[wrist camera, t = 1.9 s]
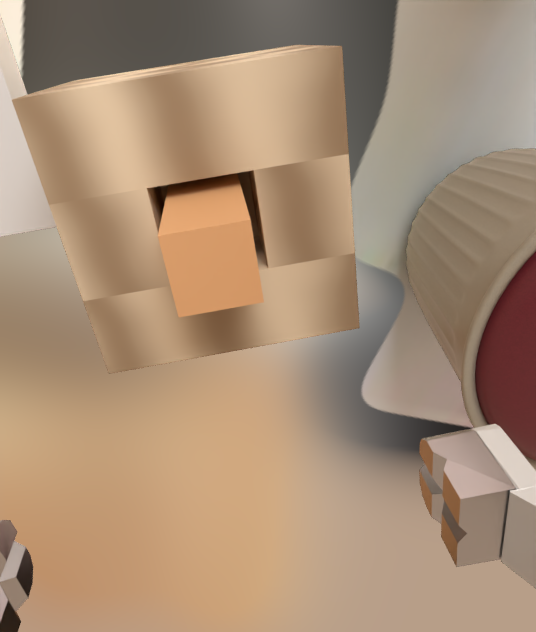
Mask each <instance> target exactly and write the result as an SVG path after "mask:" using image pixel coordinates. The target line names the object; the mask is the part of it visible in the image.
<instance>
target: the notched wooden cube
mask: <svg viewBox="0 0 536 632" xmlns="http://www.w3.org/2000/svg"><path fill="white" fill-rule="evenodd" d="M12 102H13V105H14V108H15V111H16V114H17V117H18V119H19V122H20V125H21V128H22V131H23V133H24V136H25V139H26V142H27V145H28V148H29V150H30V153H31V156H32V159H33V162H34V164H35V167H36V170H37V173H38V176H39V178H40V181H41V184H42V187H43V190H44V193H45V195H46V198H47V201H48V204H49V207H50V209H51V212H52V215H53V218H54V221H55V224H56V226H57V229H58V232H59V235H60V238H61V240H62V243H63V246H64V249H65V252H66V255H67V257H68V260H69V263H70V266H71V269H72V271H73V274H74V277H75V280H76V282H77V286H78V288H79V291H80V294H81V297H82V300H83V302H84V305H85V308H86V311H87V314H88V317H89V319H90V322H91V325H92V328H93V331H94V333H95V336H96V339H97V342H98V344H99V348H100V350H101V353H102V356H103V359H104V362H105V364H106V367H107V370H108V373H109V374H111V373H115V372H122V371H127V370H132V369H137V368H144V367H149V366H154V365H160V364H165V363H171V362H176V361H182V360H187V359H193V358H198V357H204V356H209V355H215V354H219V353H225V352H231V351H237V350H242V349H247V348H253V347H258V346H264V345H269V344H275V343H280V342H286V341H291V340H296V339H302V338H308V337H313V336H318V335H324V334H329V333H335V332H340V331H346V330H351V329H356V328H359V312H358V296H357V280H356V264H355V247H354V231H353V215H352V199H351V183H350V167H349V151H348V134H347V118H346V102H345V86H344V70H343V53H342V46H320V45H292V46H286V47H280V48H274V49H267V50H262V51H255V52H249V53H242V54H236V55H230V56H224V57H218V58H211V59H205V60H199V61H193V62H187V63H181V64H175V65H168V66H162V67H156V68H150V69H143V70H137V71H131V72H125V73H119V74H112V75H106V76H100V77H94V78H88V79H81V80H75V81H71V82H68V83H65V84H61V85H58V86H55V87H51V88H48V89H45V90H41V91H38V92H35V93H32V94H28V95H25V96H22V97H18V98H15V99H12ZM234 173H237V174H238V178H239V181H240V185H241V188H242V192H243V195H244V199H245V202H246V205H247V209H248V212H249V216H250V219H251V225H252V231H253V238H254V244H255V250H256V256H257V262H258V268H259V275H260V281H261V287H262V293H263V299H264V302H263V303H257V304H252V305H246V306H240V307H235V308H229V309H224V310H218V311H213V312H207V313H201V314H196V315H190V316H185V317H178V313H177V309H176V305H175V301H174V298H173V294H172V290H171V286H170V282H169V278H168V274H167V270H166V266H165V263H164V259H163V255H162V251H161V247H160V243H159V239H158V232H159V227H160V223H161V218H162V214H163V209H164V204H165V200H166V195H167V191H168V186H169V184H175V183H181V182H187V181H193V180H198V179H204V178H210V177H216V176H222V175H228V174H234Z"/></svg>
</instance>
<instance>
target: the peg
mask: <svg viewBox="0 0 536 632" xmlns="http://www.w3.org/2000/svg"><path fill="white" fill-rule="evenodd" d="M158 239H159V243H160V247H161V251H162V255H163V259H164V263H165V266H166V270H167V274H168V278H169V282H170V286H171V290H172V294H173V298H174V301H175V305H176V309H177V313H178V317H185V316H190V315H196V314H201V313H207V312H213V311H218V310H224V309H229V308H235V307H240V306H246V305H252V304H257V303H263V302H264V299H263V293H262V287H261V281H260V275H259V268H258V262H257V256H256V250H255V244H254V238H253V231H252V225H251V219H250V216H249V212H248V209H247V205H246V202H245V199H244V195H243V192H242V188H241V185H240V181H239V178H238V174H237V173H234V174H228V175H222V176H216V177H210V178H204V179H198V180H193V181H187V182H181V183H175V184H169V186H168V191H167V195H166V200H165V204H164V209H163V214H162V218H161V223H160V227H159V232H158Z"/></svg>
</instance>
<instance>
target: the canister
mask: <svg viewBox="0 0 536 632" xmlns="http://www.w3.org/2000/svg"><path fill="white" fill-rule="evenodd" d="M406 255H407V261H406V267H407V270H408V278H409V282H410V285H411V287H412V289H413V292H414V295H415V297H416V300H417V302H418V304H419V306H420V308H421V310H422V312H423V314H424V316H425V318H426V320H427V322H428V324H429V326H430V327H431V329H432V331H433V333H434V335H435V337H436V338H437V340H438V342H439V344H440V346H441V347H442V349H443V351H444V353H445V354H446V356H447V358H448V360H449V362H450V364H451V365H452V367H453V369H454V371H455V373H456V375H457V376H458V378H459V380H460V382H461V388H462V396H463V401H464V405H465V409H466V412H467V414H468V417H469V419H470V421H471V423H472V425H473V427H474V428H477V427H481V426H486V425H491V424H497V425H498V426H500V427H501V428H502V429H503V431H504V432H505V433H506V434H507V436H508V437H509V438H510V439H511V440H512V442H513V443H514V444H515V445H516V447H517V448H518V449H519V450H520V452H521V453H522V454H523V455H524V457H525V458H526V459H527V460H528V462H529V463H530V464H531V465H532V467H533V468H534V469H535V470H536V148H529V149H508V150H505V151H497V152H492V153H490V154H488V155H486V156H483V157H477V158H475V159H473V160H472V161H471V162H469V163H467V164H463V165H461V166H460V167H459V168H458V169H457V170H456V171H454V172H453V173H450V174H448V175H447V176H446V178H445V179H444V180H443V181H442V182H441V183H439V184H437V185H436V187H435V189H434V190H433V191H432V192H431V193H430V194H429V195H428V196H427V197H426V199H425V202H424V203H423V205H422V206H421V207H420V208H419V209H418V213H417V216H416V218H415V219H414V221H413V222H412V229H411V231H410V233H409V235H408V246H407V248H406Z"/></svg>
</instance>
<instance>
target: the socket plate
mask: <svg viewBox="0 0 536 632" xmlns="http://www.w3.org/2000/svg"><path fill="white" fill-rule="evenodd" d="M25 95H27V92H26V89H25V86H24V83H23V80H22V77H21V74H20V71H19V68H18V65H17V62H16V59H15V57H14V54H13V51H12V48H11V45H10V42H9V39H8V36H7V33H6V30H5V27H4V24H3V21H2V18H1V15H0V237H1V236H7V235H13V234H19V233H24V232H30V231H36V230H42V229H47V228H53V227H57V226H56V224H55V221H54V218H53V215H52V212H51V209H50V207H49V204H48V201H47V198H46V195H45V193H44V190H43V187H42V184H41V181H40V178H39V176H38V173H37V170H36V167H35V164H34V162H33V159H32V156H31V153H30V150H29V148H28V145H27V142H26V139H25V136H24V133H23V131H22V128H21V125H20V122H19V119H18V117H17V114H16V111H15V108H14V105H13V102H12V99H15V98H18V97H22V96H25Z"/></svg>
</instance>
